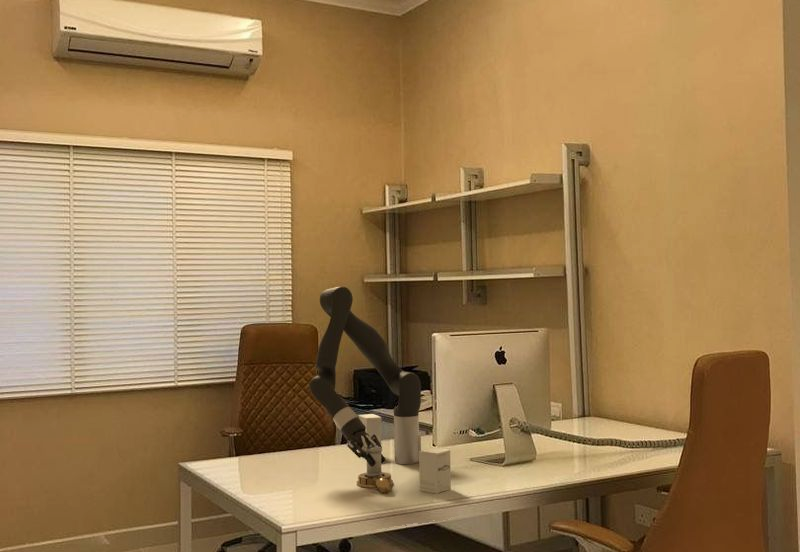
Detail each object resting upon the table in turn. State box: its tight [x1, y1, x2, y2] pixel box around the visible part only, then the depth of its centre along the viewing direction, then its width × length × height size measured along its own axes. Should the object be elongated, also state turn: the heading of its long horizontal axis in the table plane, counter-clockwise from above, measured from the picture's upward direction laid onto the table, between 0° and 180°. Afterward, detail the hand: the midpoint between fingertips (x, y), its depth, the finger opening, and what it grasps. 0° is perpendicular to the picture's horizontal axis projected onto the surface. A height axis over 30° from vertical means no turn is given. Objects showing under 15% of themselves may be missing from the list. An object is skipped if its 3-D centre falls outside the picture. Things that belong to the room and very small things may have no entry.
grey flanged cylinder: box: [365, 446, 383, 477], centre depth 277 cm, size 5×5×9 cm
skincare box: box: [357, 413, 383, 453], centre depth 324 cm, size 8×7×16 cm
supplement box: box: [418, 447, 452, 494], centre depth 267 cm, size 7×7×13 cm
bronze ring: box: [356, 471, 394, 495], centre depth 272 cm, size 12×20×4 cm, turn 16°
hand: (378, 463), depth 276 cm, fingers closed on grey flanged cylinder, 4 cm apart
